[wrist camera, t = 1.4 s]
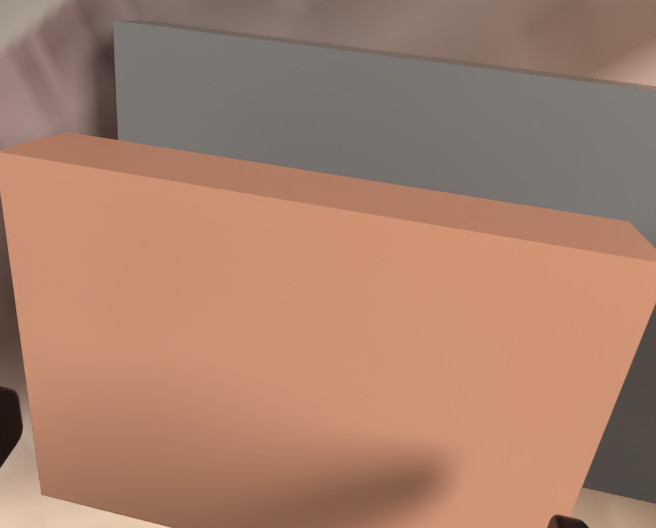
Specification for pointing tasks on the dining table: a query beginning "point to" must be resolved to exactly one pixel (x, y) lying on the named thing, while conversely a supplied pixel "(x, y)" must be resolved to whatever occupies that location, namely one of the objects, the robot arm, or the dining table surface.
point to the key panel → (415, 148)
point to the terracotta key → (310, 341)
